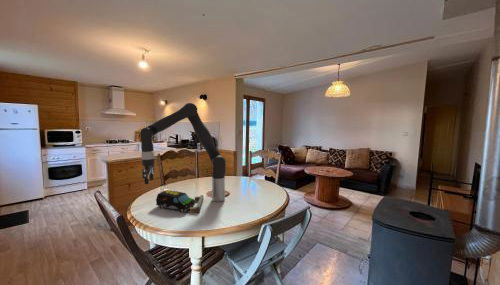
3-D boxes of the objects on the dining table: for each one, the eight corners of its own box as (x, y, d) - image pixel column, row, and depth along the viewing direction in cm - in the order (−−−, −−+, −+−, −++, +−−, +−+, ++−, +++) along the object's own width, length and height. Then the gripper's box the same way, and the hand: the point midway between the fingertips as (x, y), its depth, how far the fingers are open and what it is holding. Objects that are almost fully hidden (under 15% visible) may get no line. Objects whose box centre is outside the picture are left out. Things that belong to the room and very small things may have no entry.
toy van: (185, 214, 129) (185, 198, 128) (155, 207, 137) (154, 193, 136) (195, 207, 139) (195, 193, 138) (166, 202, 147) (166, 188, 146)
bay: (203, 200, 151) (203, 195, 151) (199, 212, 131) (199, 206, 130) (195, 200, 151) (195, 195, 150) (190, 213, 130) (189, 207, 129)
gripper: (149, 160, 127) (151, 185, 129) (157, 156, 141) (158, 178, 143) (137, 160, 126) (138, 185, 128) (146, 156, 140) (147, 179, 142)
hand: (149, 182), depth 135 cm, fingers open, 8 cm apart
